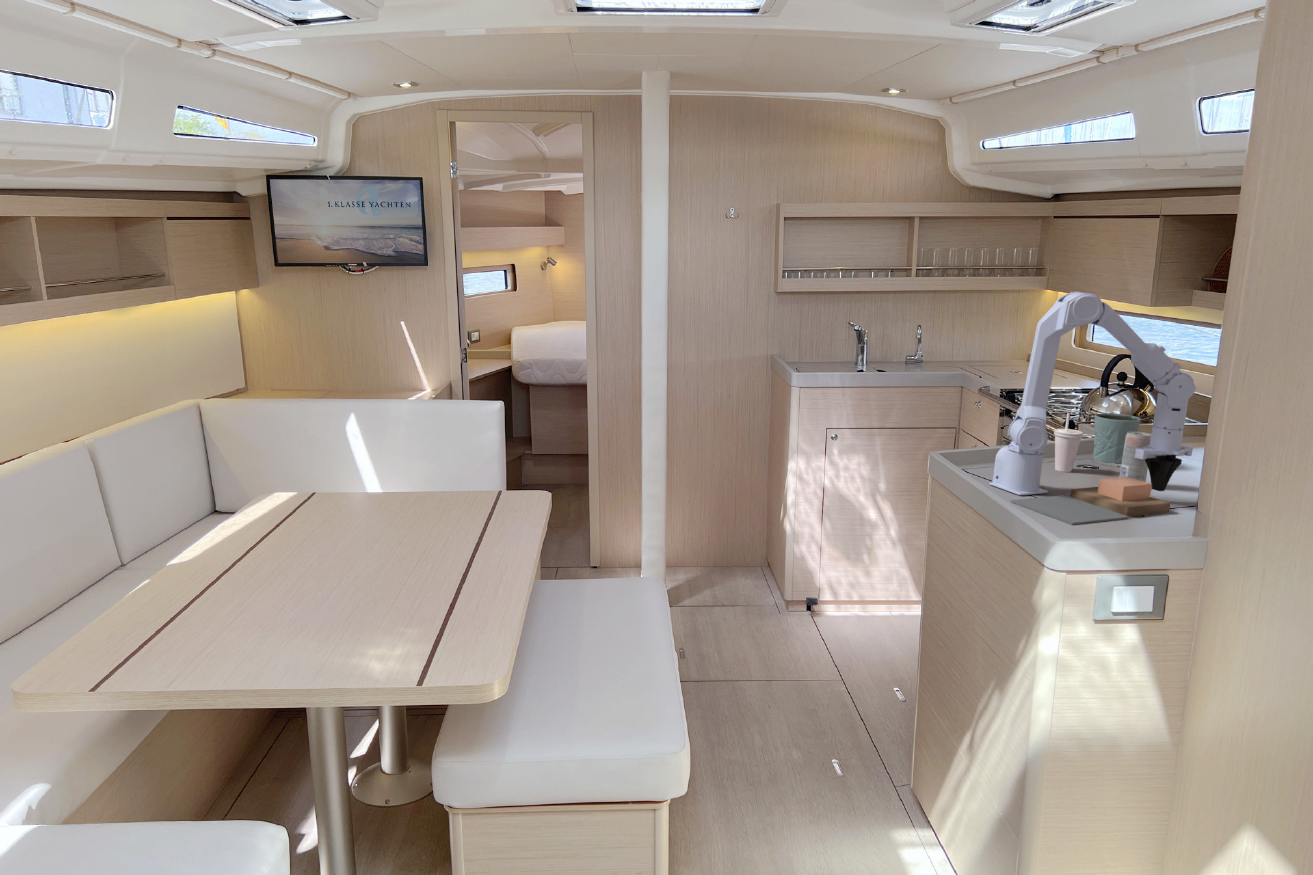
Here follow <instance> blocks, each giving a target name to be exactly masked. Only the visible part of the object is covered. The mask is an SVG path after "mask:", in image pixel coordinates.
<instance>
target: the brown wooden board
mask: <svg viewBox="0 0 1313 875" xmlns="http://www.w3.org/2000/svg"><path fill="white" fill-rule="evenodd" d="M1070 490H1071V491H1070V496H1069V497H1072V498H1075V499H1078V500H1081V501H1084V502H1087V503H1090V504H1093V505H1096V506H1099V507H1102V508H1105V509H1108V510H1111V511H1114V512H1117V513H1120V514H1123V515H1126V516H1129V518H1130V517H1131V518H1132V517H1138V516H1148V515H1149V516H1151V515H1156V514H1167V513H1170V510H1171V509H1170V508H1171V502H1169V501H1165V500H1162V499H1159V498H1155V497H1153V496H1150V498H1145V499H1135V500H1125V501H1121V500H1118V499H1114V498H1111V497H1108V496H1105V495H1102V494H1099V493H1098V486H1091V487H1080V488H1078V487H1077V488H1071V489H1070Z"/></svg>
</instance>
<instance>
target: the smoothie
mask: <svg viewBox="0 0 1313 875" xmlns="http://www.w3.org/2000/svg"><path fill="white" fill-rule="evenodd" d="M1070 415H1071V413H1069V412H1067V414H1066V420H1065V426H1064V427H1065V428H1056V429H1054V432H1053V435H1054V470H1055V471H1057V470H1058V471H1057V472H1061V471H1062V473H1071V471H1073V469H1074V464H1075V461H1076V458H1077V454H1078V451H1079V450H1078V449H1079V446H1080V443H1081V439H1082V438H1083V437H1084V432H1083V431H1081V430H1076V429H1070V428H1069V422H1070V417H1071V416H1070Z"/></svg>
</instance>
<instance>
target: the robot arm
mask: <svg viewBox="0 0 1313 875" xmlns="http://www.w3.org/2000/svg"><path fill="white" fill-rule="evenodd" d="M1089 324H1091V325H1093V326H1096V327H1097V326H1098V327H1100V328H1101V327H1102V328H1103V329H1104V330H1105V331H1106V332H1108V333H1109V334H1110V335H1111V336H1112V337H1113V338H1114V339H1116V340H1117V342H1118V343H1119V344H1121V345H1122V346H1123V347H1124V348H1125V349H1126V350H1127V351H1129V353H1131V355H1130V357H1131V358H1130V361H1131V362H1130V363H1132V365H1133V366H1134V367H1135V368H1136V369H1137V370H1138V371H1139V372H1140V373H1141V374H1142V375H1144V377H1145V378H1147V379H1148V381H1150V383H1151V384H1153V386H1154V389H1155V391H1157V398H1156V404H1155V407H1154V408H1155V410H1154V416H1153V421H1152V428H1151V433H1150V434H1151V439H1150V445H1149V446H1146V447H1143V448H1138V449H1136V452H1135V458H1139V459H1142V460H1145V462H1146V464H1147V466H1148V472H1149V476H1150V477H1149V478H1150V484H1152V488H1151V490H1154V491H1158V492H1165V490H1166V488H1167V486H1168V484H1169V482H1170V480H1171V478H1172V476H1173V475H1174V473H1175V471H1176V470H1177V469H1178V468H1179V466H1181V465H1182V459H1181V458H1178V457H1180V456H1187V457H1192V456H1193V448H1194V447H1193V446H1190V445H1185V444H1184V445H1182V443H1183V436H1184V435H1183V434H1184V429H1185V424H1186V417H1187V411H1188V404H1189V399H1190V398H1191V397H1192V396H1193V395H1194V394H1195V392H1196V390H1197V386H1195V383H1194V379H1193V377H1192V376H1191V375H1190V374H1189V373H1187V372H1183V371H1181V368H1182V365H1181V364H1180V363H1179V362H1174V360H1172V359H1171V358H1170V357H1169V356H1168V355H1167V353H1165V351H1166V348H1165V347H1164V346H1163V345H1161V344H1159V345H1157V344H1156V343H1155V342H1149V343H1148V342H1146V343H1145V341H1144V340H1143V339H1142V338H1141V337H1140V336H1139V335H1138V333H1136V332H1135V331H1134V330H1133V328H1132V327H1130V325H1129V324H1128V323H1127V322H1126V321H1125V320H1124V319H1123V317H1122V316H1120V314H1118V312H1117V311H1115V309H1113V308H1112V306H1110V305H1109V304H1108V303H1107V302H1105V301H1102V299H1101V298H1100V297H1099V296H1098V295H1097V294H1094V293H1089V292H1084V291H1083V292H1082V291H1080V290H1079V291H1071V292H1069V293H1067V294H1066V293H1065V295H1062V296H1061V297H1059V298H1057V299H1056V300H1055V302H1054V304H1053V305H1052V306H1051V307H1050V309H1049V310H1048V311H1047V312H1045V314H1044V315H1043V316H1042V317H1041V318H1040V320H1038V322H1037V324H1036V328H1035V333H1034V337H1033V344H1032V350H1031V354H1030V358H1029V359H1030V360H1029V365H1028V367H1027V368H1028V369H1027V374H1026V380H1025V385H1024V390H1023V394H1022V399H1021V404H1020V405H1019V407H1018V408H1017V411H1016V415H1015V417H1014V419H1013V420H1012V422H1011V423H1010V424H1009V427H1008V436H1009V437H1010V439H1011V442H1010V443H1009V444H1008V445H1005V446H1003V447H1001V448H1000V449H999V450H998V451H997V453H996V455H995V459H994V468H993V476H992V481H991V482H989V485H990V486H994V488H995V487H996V488H999V489H1001V490H1004V491H1007V492H1010V493H1013V494H1015V495H1018V496H1028V495H1029V496H1030V495H1038V494H1039V495H1040V494H1048V492H1049V491H1048V490H1047V489H1044V488H1041V487H1040V483H1041V482H1040V481H1041V476H1042V475H1041V474H1042V468H1043V461H1044V460H1043V459H1044V452H1045V451H1044V448H1045V447H1046V446H1047V443H1048V440H1049V435H1048V432H1047V407H1048V401H1049V396H1050V391H1051V387H1052V383H1053V382H1052V381H1053V377H1054V372H1055V367H1056V363H1057V356H1058V352H1059V347H1060V342H1061V338H1062V336H1064V335H1066V334H1067V333H1068V332H1071V331H1072V330H1074V329H1075V328H1078V327H1082V326H1087V325H1089Z"/></svg>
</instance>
